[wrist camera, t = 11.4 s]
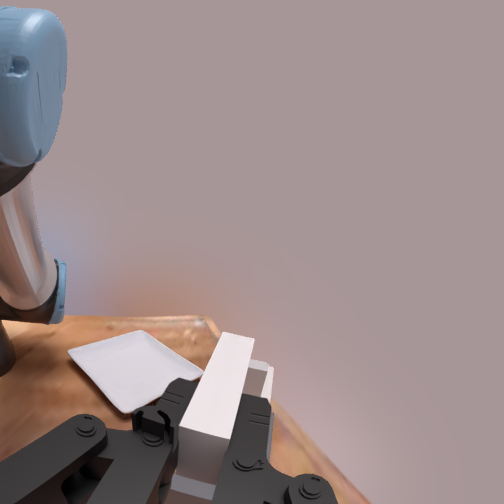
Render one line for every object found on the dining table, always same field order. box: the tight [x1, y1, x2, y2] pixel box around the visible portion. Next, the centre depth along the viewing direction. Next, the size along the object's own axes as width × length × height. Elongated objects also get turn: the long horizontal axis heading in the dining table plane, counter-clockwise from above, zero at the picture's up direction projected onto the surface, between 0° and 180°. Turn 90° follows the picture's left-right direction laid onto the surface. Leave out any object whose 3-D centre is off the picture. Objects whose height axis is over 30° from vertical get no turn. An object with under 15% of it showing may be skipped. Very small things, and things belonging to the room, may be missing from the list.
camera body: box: [164, 413, 274, 504], centre depth 35 cm, size 20×12×9 cm, turn 173°
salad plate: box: [68, 330, 204, 414], centre depth 55 cm, size 21×21×3 cm
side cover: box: [242, 359, 274, 403], centre depth 43 cm, size 16×10×10 cm, turn 173°
